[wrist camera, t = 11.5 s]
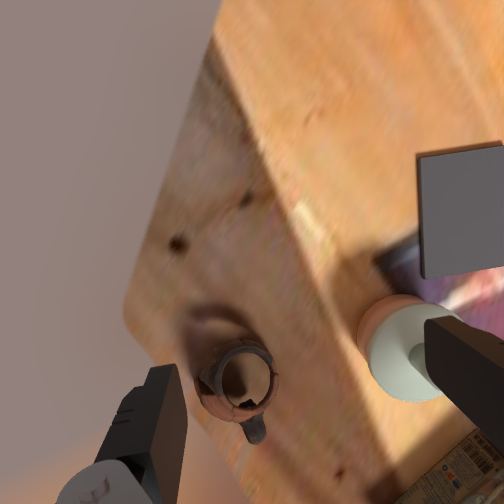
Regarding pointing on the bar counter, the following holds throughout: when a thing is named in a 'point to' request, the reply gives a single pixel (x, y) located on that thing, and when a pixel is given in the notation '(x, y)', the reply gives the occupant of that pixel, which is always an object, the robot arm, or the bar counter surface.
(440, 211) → the mat
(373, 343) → the lid
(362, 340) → the bowl
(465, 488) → the beverage carton
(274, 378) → the pottery mug
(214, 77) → the bar counter surface
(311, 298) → the bar counter surface
